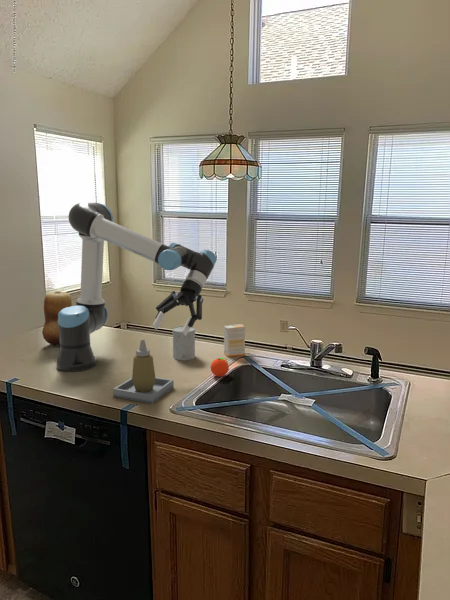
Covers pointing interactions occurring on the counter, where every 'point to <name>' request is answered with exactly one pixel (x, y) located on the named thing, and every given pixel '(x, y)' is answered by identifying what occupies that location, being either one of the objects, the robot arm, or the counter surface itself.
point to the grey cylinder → (183, 344)
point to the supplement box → (234, 340)
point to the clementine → (219, 367)
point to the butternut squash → (54, 314)
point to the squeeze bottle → (143, 369)
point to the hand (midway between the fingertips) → (168, 330)
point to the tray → (129, 392)
